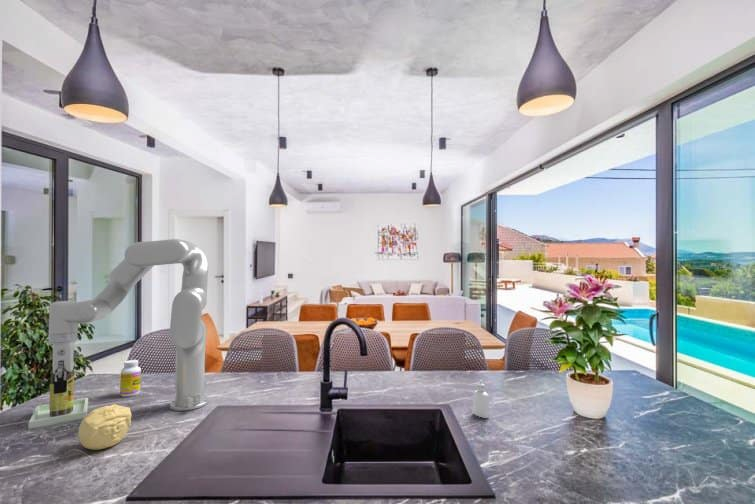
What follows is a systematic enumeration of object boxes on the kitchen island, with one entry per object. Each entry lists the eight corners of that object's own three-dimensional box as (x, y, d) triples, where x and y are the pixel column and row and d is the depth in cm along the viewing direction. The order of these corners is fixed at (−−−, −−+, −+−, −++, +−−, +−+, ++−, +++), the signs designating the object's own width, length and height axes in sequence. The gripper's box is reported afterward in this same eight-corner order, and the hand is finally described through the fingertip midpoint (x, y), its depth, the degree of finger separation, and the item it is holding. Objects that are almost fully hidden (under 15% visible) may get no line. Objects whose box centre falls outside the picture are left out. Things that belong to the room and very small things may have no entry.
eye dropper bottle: (484, 412, 130) (484, 377, 131) (490, 419, 125) (490, 382, 125) (472, 412, 130) (472, 377, 130) (477, 419, 124) (477, 382, 125)
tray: (86, 418, 124) (86, 411, 124) (28, 429, 115) (28, 422, 116) (88, 403, 137) (88, 397, 137) (36, 412, 128) (36, 406, 128)
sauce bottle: (72, 414, 125) (73, 354, 125) (47, 419, 122) (48, 357, 122) (74, 408, 130) (75, 351, 131) (51, 412, 127) (52, 353, 127)
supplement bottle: (132, 397, 143) (133, 363, 144) (115, 397, 143) (116, 363, 144) (144, 391, 150) (144, 359, 150) (127, 391, 150) (128, 359, 150)
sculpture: (89, 459, 98) (90, 417, 99) (70, 447, 105) (71, 408, 105) (136, 441, 108) (137, 403, 108) (116, 431, 114) (117, 395, 115)
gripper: (75, 340, 122) (74, 393, 121) (79, 332, 136) (77, 380, 136) (45, 343, 118) (43, 398, 117) (51, 335, 132) (50, 384, 131)
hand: (61, 388), depth 126 cm, fingers open, 9 cm apart
